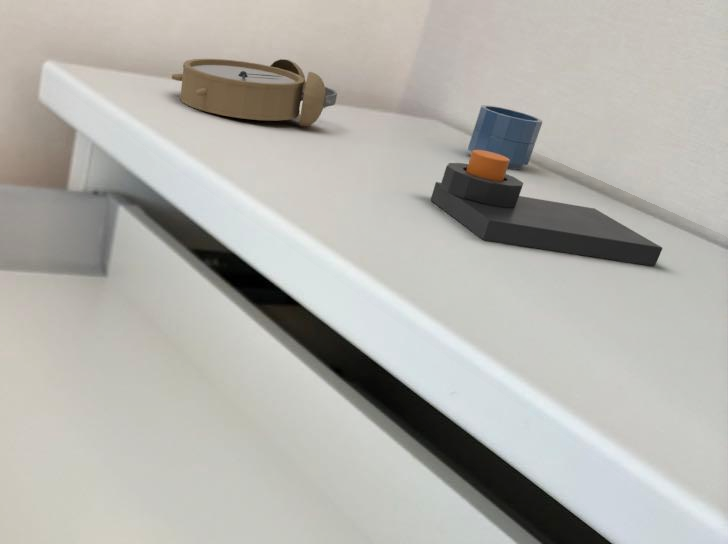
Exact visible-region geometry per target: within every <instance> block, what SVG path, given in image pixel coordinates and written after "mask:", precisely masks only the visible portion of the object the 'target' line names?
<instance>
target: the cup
mask: <svg viewBox="0 0 728 544" xmlns="http://www.w3.org/2000/svg"><path fill="white" fill-rule="evenodd" d="M542 125H543V120H542V119H540V118H538V117H536V116H534V115H530V114H529V113H524V112H521V111H517V110H514V109H510V108H505V107H501V106H495V105H487V104H485V105H483V104H482V105H480V109H479V112H478V115H477V119H476V121H475V125H474V127H473V131H472V134H471V137H470V140H469V144H468V147H467V150H468V151H469V152H470V153H469V156H470V157H471V154H472V151H473V150H483V151H489V152H493V153H496V154H499V155H502V156H505V157H507V158H508V159H510V162H509V165H508V168H507V169H510V170H521V169H523V167H524V166H527V165H529V162H530V160H531V157H532V154H533V151H534V148H535V144H536V142H537V139H538V136H539V134H540V130H541V128H542Z"/></svg>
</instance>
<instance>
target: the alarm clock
mask: <svg viewBox="0 0 728 544" xmlns="http://www.w3.org/2000/svg"><path fill="white" fill-rule="evenodd" d="M182 67H183V70H182V73H173V74H171V80H175V81H178V82H181V88H180V94H179V100H180V101H181V103H183V104H185V105H186V106H189V107H190V108H193V109H197V110H199V111H202V112H206V113H211V114H216V115H219V116H223V117H224V116H225V117H230V118H237V119H245V120H252V121H253V120H255V121H274V122H275V121H277V122H279V121H287V120H294V119H296V118H299V127H308V126H312V125H313V124H314V123H315V122H317V121H318V120H319V118H320V117H321V114H322V112H323V110H324V109H325V108H327V107H328V108H329V107H333V106H334V105H336V104H337V103H336V102H337V97H338V92H337V91H336V90H335V89H333V88H330V87H327V86H325V83H324V80H323V79H322V78H321V76H320V75H319V74H317V73H315V72H312V71H308V73H307V77H305V74H304V72H303V70H302V68H301V67H300V66H299V65H298V64H297V63H296V62H294V61H292V60H290V59H281V58H280V59H277V60H275V61H273V63H271V65H265V64H261V63H256V62H249V61H244V60H243V61H241V60H232V59H225V58H224V59H221V58H193V59H188V60H186V61H184V62H183V64H182ZM301 102H302V103H301ZM300 106H301V109H300Z"/></svg>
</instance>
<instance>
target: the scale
mask: <svg viewBox="0 0 728 544" xmlns="http://www.w3.org/2000/svg"><path fill="white" fill-rule="evenodd" d="M468 164H469V163H464V162H448V164H447V165H446V166H445V170H444V173H443V176H442V179H441V182H439V181H436V182H435V183H434V187H433V191H432V193H431V197H430V201H431V202H433V203H434V204H435V205H436V206H438V207H439V208H440V209H441V210H443V211H444V212H446V213H447V214H448V215H449V216H451V217H452V218H454V219H455V220H456V221H458V222H459V223H460V224H462V225H463V226H465V227H466V228H467V229H468V230H470V232H472V233H474V234H475V235H476V236H478V237H479V238H481V239H482V240H483V241H489V242H495V243H502V244H508V245H513V246H514V245H515V246H519V247H520V246H521V247H527V248H534V249H539V250H540V249H541V250H546V251H553V252H560V253H566V254H573V255H579V256H586V257H592V258H598V259H599V258H600V259H605V260H610V261H616V262H617V261H618V262H625V263H631V264H637V265H644V266H649V267H656V265H657V263H658V260H659V258H660V256H661V253H662V251H663V247H662V246H660V244H657V243H655V242H653V241H652V240H650V239H649V238H647V237H645V236H643V235H641V234H639V233H638V232H636V231H634V230H633V229H630V228H629V227H628V226H626V225H624V224H622V223H621V222H619V221H617V220H616V219H614V218H612V217H610V216H608V215H607V214H605V213H604V212H602V211H600V210H598V209H597V208H595V207H594V208H593V207H589V206H583V205H582V206H581V205H575V204H571V203H566V202H565V203H563V202H558V201H553V200H552V201H551V200H546V199H541V198H540V199H539V198H535V197H529V196H523V195H521V191H522V189H523V186H524V182H523V181H522V180H520V179H518V178H516V177H515V176H513V175H509V174H507V173H506V174H505V177H504V180H503V181H498V180H492V179H487V178H483V177H479V176H476V175H474V174H471V173H468V172H466V170H467V167H468Z"/></svg>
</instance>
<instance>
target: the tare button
mask: <svg viewBox="0 0 728 544" xmlns="http://www.w3.org/2000/svg"><path fill="white" fill-rule="evenodd" d="M509 162H510V159H508V158H507V157H505V156H502V155H499V154H496V153H493V152H489V151H483V150H473V151H472V154H471V156H470V158H469V161H468V163H467V164H468V167H467V170H466V172H468V173H471V174H474V175H476V176H479V177H483V178H487V179H492V180H498V181H503V180H504V177H505V174H507V170H508V169H509V168H508V165H509Z"/></svg>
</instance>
